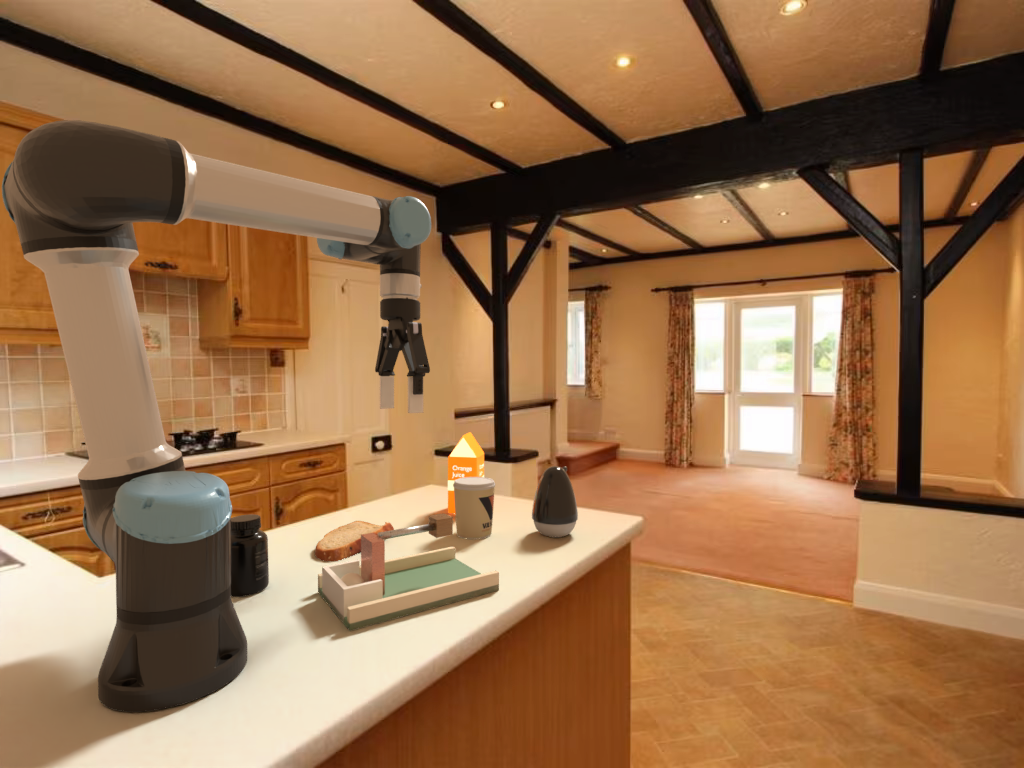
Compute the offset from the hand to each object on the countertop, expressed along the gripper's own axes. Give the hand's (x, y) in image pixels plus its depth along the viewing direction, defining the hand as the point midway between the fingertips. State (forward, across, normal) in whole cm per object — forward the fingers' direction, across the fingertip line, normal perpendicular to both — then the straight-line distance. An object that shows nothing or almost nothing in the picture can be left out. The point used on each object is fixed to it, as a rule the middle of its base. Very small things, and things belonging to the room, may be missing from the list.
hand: (400, 410), depth 104 cm
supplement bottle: (+29, +1, +27) cm, 40 cm away
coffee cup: (+29, +6, -20) cm, 36 cm away
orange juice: (+29, +25, -29) cm, 48 cm away
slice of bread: (+29, +14, +4) cm, 33 cm away
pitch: (+29, -15, +5) cm, 33 cm away
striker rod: (+27, -15, +5) cm, 31 cm away
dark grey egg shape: (+29, -4, -35) cm, 46 cm away
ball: (+26, -15, +15) cm, 33 cm away
